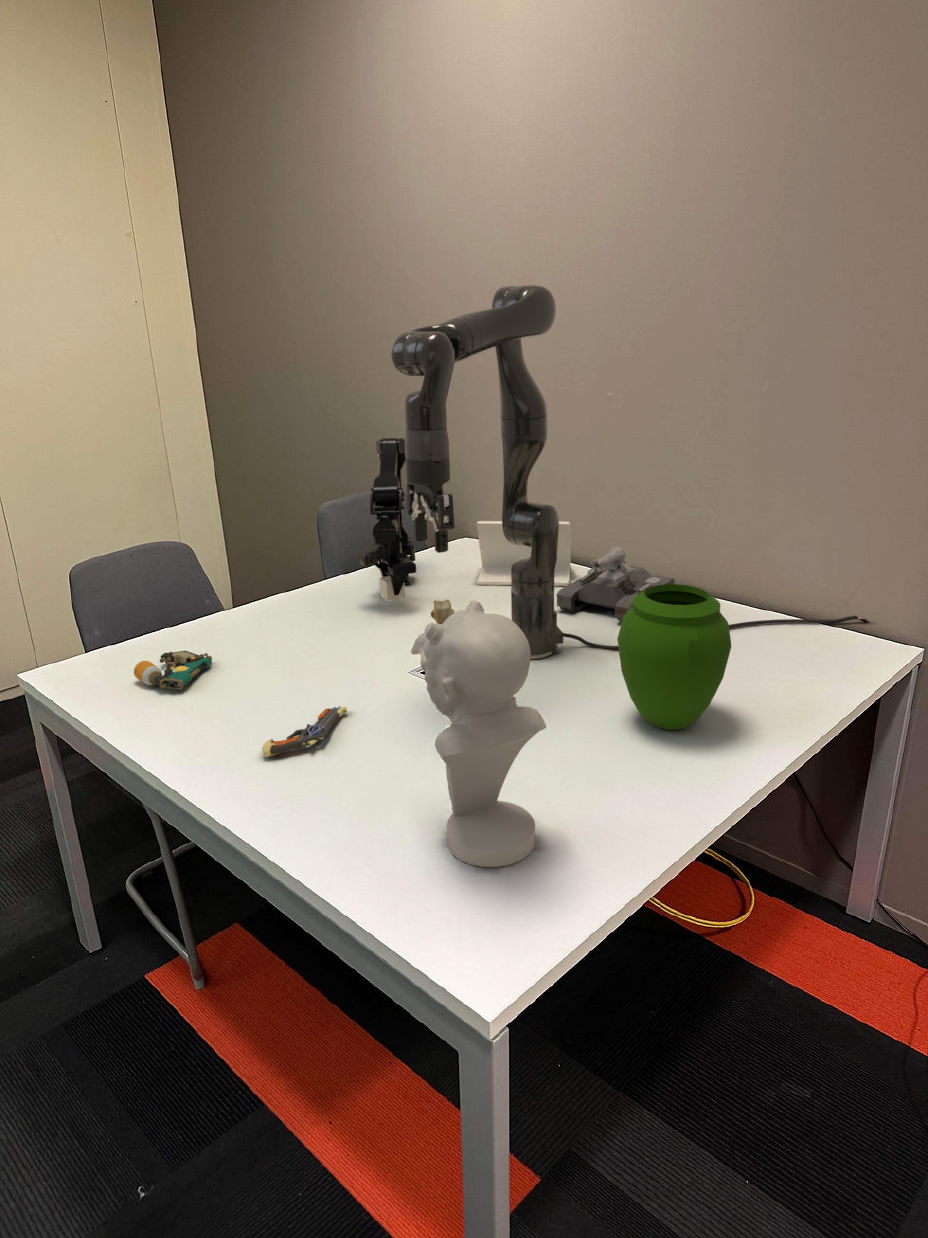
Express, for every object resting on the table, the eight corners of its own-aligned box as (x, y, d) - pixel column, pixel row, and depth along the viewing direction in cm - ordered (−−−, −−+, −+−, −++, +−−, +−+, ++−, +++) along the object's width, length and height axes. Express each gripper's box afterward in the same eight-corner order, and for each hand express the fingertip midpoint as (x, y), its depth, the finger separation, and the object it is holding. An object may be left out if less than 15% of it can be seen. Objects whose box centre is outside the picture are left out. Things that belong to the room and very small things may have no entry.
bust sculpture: (481, 772, 140) (476, 569, 128) (565, 848, 120) (569, 617, 108) (392, 800, 134) (378, 588, 121) (465, 886, 114) (457, 642, 101)
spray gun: (177, 659, 191) (231, 671, 185) (120, 684, 176) (176, 698, 171) (176, 641, 190) (230, 653, 184) (118, 665, 175) (174, 678, 169)
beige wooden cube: (398, 592, 221) (396, 574, 220) (405, 597, 217) (404, 579, 216) (380, 595, 219) (379, 577, 218) (387, 601, 215) (386, 582, 214)
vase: (737, 711, 158) (749, 586, 150) (704, 757, 143) (715, 621, 134) (638, 689, 168) (643, 571, 160) (597, 730, 153) (601, 602, 144)
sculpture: (458, 662, 183) (456, 596, 178) (460, 676, 176) (457, 608, 171) (431, 663, 183) (428, 597, 177) (431, 677, 176) (428, 609, 171)
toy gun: (257, 746, 146) (311, 744, 144) (298, 704, 164) (347, 701, 161) (260, 761, 146) (314, 759, 144) (300, 717, 164) (349, 715, 162)
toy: (603, 584, 229) (605, 530, 224) (673, 597, 218) (677, 540, 213) (555, 612, 210) (556, 553, 205) (630, 627, 199) (633, 566, 194)
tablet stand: (569, 585, 229) (570, 524, 223) (476, 584, 232) (475, 523, 226) (570, 566, 246) (571, 508, 240) (484, 564, 249) (483, 507, 243)
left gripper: (345, 529, 217) (350, 587, 222) (372, 546, 201) (376, 608, 207) (386, 523, 221) (389, 580, 227) (415, 539, 206) (418, 600, 211)
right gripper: (390, 451, 150) (396, 540, 156) (424, 463, 138) (429, 559, 144) (429, 446, 153) (433, 534, 159) (466, 458, 141) (468, 552, 147)
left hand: (392, 592), depth 218 cm, fingers closed on beige wooden cube, 5 cm apart
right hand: (431, 546), depth 152 cm, fingers open, 8 cm apart
